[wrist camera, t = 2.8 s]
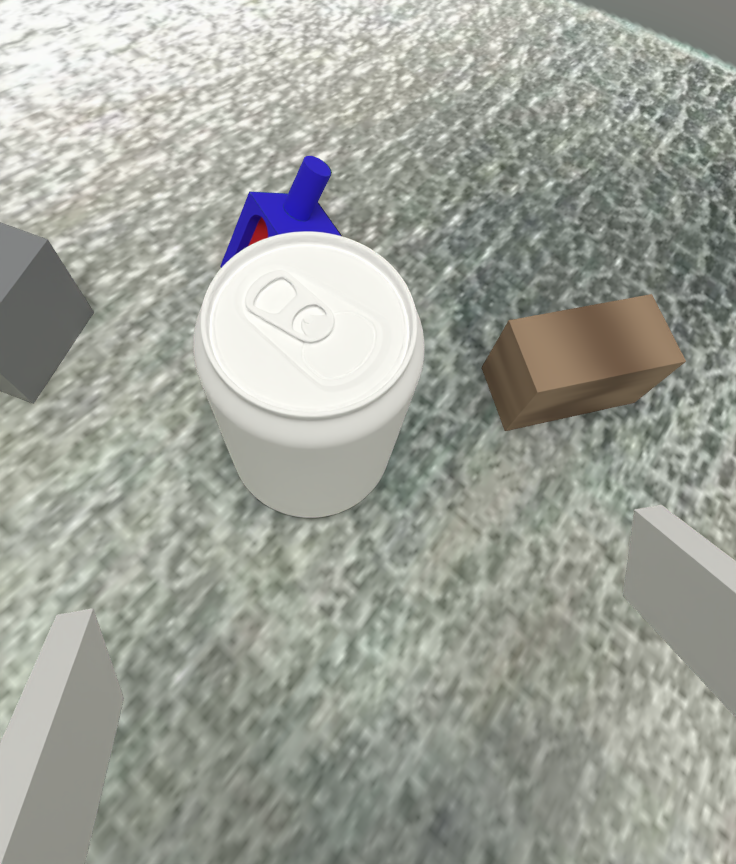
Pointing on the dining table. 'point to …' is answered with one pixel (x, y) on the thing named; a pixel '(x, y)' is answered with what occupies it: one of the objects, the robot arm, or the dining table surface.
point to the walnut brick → (579, 361)
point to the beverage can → (309, 368)
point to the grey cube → (35, 312)
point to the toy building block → (284, 210)
